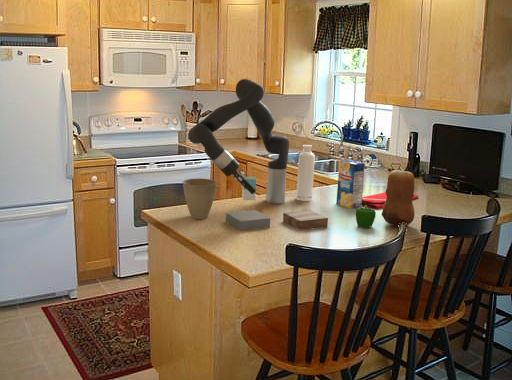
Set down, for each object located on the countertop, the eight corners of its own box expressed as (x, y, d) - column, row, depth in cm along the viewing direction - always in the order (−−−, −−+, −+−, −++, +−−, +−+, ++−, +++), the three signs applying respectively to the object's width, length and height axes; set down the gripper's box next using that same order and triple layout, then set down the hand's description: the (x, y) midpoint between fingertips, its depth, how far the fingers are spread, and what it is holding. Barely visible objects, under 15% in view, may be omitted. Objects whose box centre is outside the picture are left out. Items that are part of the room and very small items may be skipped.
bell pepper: (360, 222, 259) (362, 201, 257) (377, 226, 254) (379, 204, 252) (351, 226, 253) (352, 204, 250) (367, 230, 248) (369, 207, 245)
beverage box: (351, 208, 284) (355, 164, 279) (336, 203, 293) (339, 160, 288) (361, 207, 288) (365, 163, 283) (346, 202, 297) (349, 159, 292)
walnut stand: (283, 221, 256) (283, 212, 255) (309, 218, 262) (310, 210, 261) (299, 230, 244) (300, 220, 243) (327, 227, 250) (328, 218, 249)
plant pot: (178, 213, 261) (179, 178, 258) (210, 211, 267) (211, 177, 263) (186, 222, 248) (187, 186, 244) (220, 220, 253) (221, 184, 250)
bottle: (312, 201, 295) (316, 146, 289) (296, 200, 295) (299, 146, 289) (311, 197, 303) (314, 144, 297) (295, 197, 303) (299, 143, 297)
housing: (243, 200, 243) (244, 179, 241) (242, 197, 248) (242, 176, 246) (255, 200, 244) (256, 179, 242) (253, 197, 249) (254, 176, 247)
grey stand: (225, 221, 251) (226, 212, 251) (254, 218, 258) (254, 210, 257) (240, 230, 239) (240, 221, 239) (269, 227, 246) (270, 218, 245)
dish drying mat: (418, 199, 313) (419, 192, 312) (377, 211, 284) (378, 203, 283) (393, 193, 323) (393, 187, 322) (351, 204, 294) (351, 197, 293)
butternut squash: (407, 222, 264) (413, 168, 258) (416, 230, 251) (422, 173, 245) (377, 221, 263) (382, 167, 258) (385, 229, 250) (390, 172, 245)
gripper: (234, 159, 234) (262, 189, 239) (231, 153, 248) (257, 181, 252) (220, 172, 235) (248, 201, 239) (218, 165, 249) (244, 193, 253)
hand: (253, 191), depth 246 cm, fingers closed on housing, 5 cm apart
